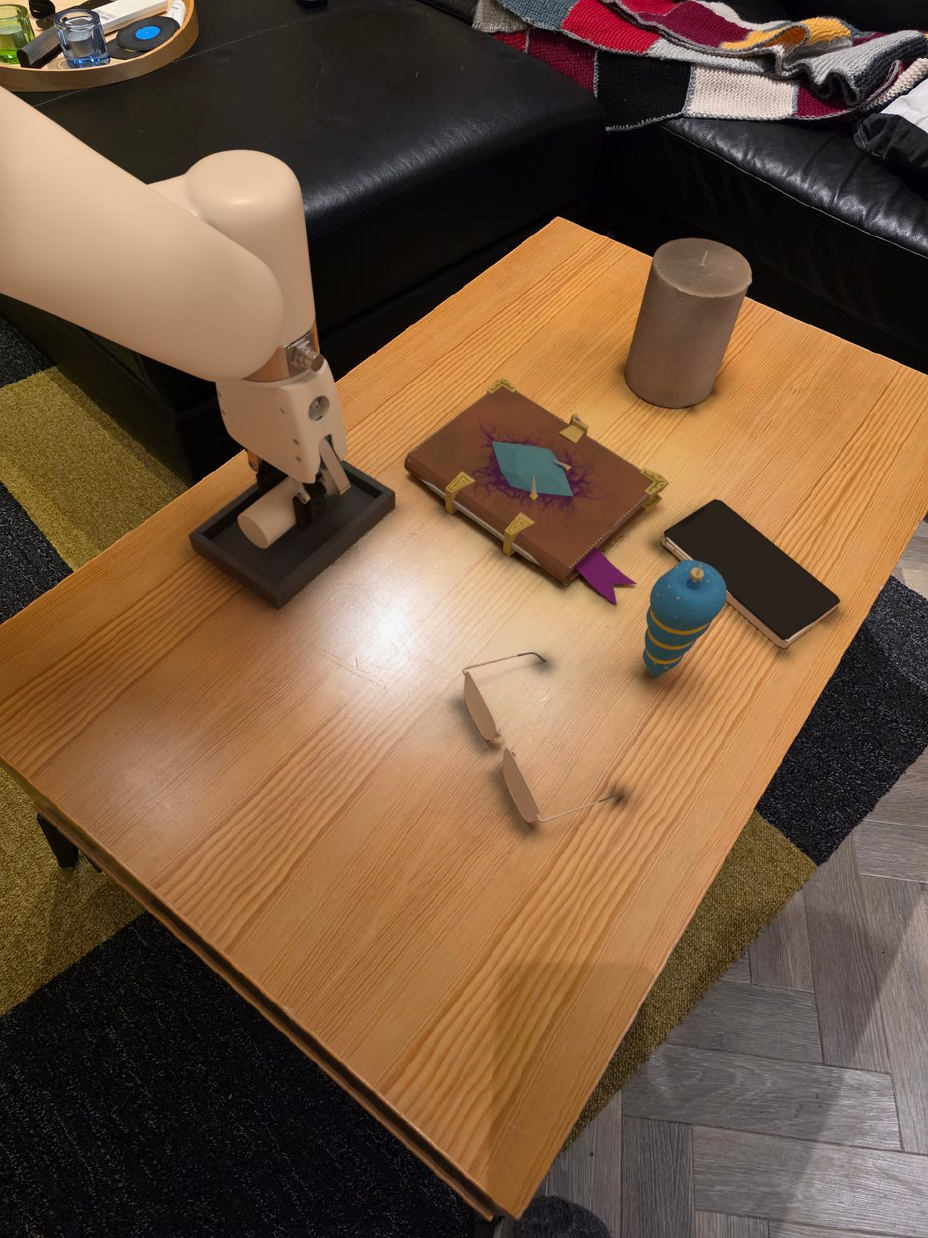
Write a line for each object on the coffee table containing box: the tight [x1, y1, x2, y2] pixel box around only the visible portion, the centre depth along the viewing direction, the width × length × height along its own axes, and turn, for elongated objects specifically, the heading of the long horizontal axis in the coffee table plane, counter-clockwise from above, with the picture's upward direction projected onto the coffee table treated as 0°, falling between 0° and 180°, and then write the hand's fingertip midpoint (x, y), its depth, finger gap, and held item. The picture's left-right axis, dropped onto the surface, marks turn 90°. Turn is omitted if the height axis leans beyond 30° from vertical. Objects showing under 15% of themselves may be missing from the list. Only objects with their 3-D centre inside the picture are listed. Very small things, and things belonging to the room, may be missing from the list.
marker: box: [238, 462, 346, 549], centre depth 78 cm, size 10×4×4 cm, turn 143°
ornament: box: [642, 560, 727, 679], centre depth 67 cm, size 5×5×15 cm
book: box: [403, 377, 670, 606], centre depth 82 cm, size 16×25×5 cm, turn 47°
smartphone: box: [660, 498, 841, 649], centre depth 80 cm, size 8×1×15 cm
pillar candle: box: [624, 237, 753, 409], centre depth 89 cm, size 10×10×15 cm
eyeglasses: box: [461, 651, 625, 824], centre depth 68 cm, size 14×8×4 cm, turn 24°
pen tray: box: [188, 459, 396, 611], centre depth 80 cm, size 16×11×2 cm
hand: (294, 507), depth 79 cm, fingers closed on marker, 3 cm apart
